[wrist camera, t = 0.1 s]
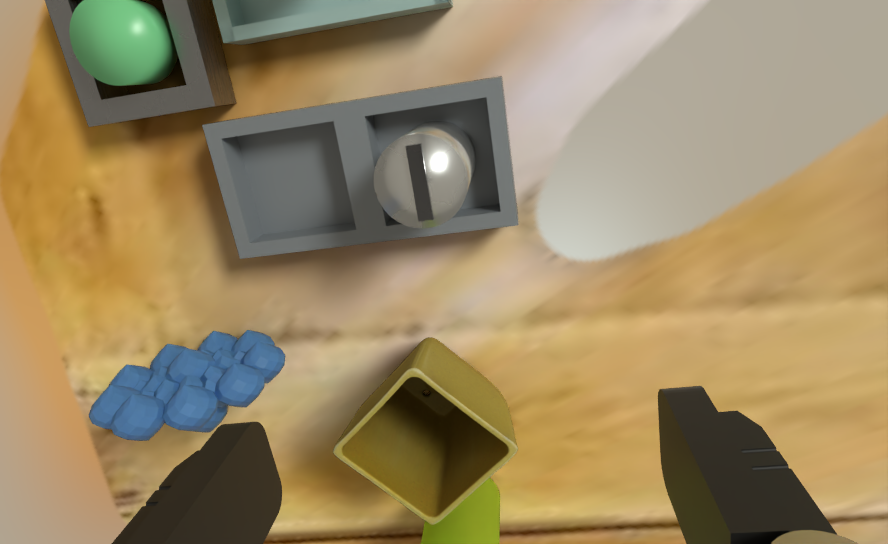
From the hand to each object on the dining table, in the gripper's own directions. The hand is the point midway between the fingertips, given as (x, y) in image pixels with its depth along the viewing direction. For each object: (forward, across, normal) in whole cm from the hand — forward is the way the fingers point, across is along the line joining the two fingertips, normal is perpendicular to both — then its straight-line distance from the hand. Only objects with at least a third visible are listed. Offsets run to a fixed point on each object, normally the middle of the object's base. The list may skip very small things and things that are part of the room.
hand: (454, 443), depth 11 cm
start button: (+28, +21, -12) cm, 37 cm away
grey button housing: (+29, +21, -12) cm, 38 cm away
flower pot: (+29, +6, +15) cm, 34 cm away
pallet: (+29, +8, -2) cm, 30 cm away
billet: (+28, +3, -2) cm, 28 cm away
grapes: (+29, +22, +11) cm, 38 cm away
